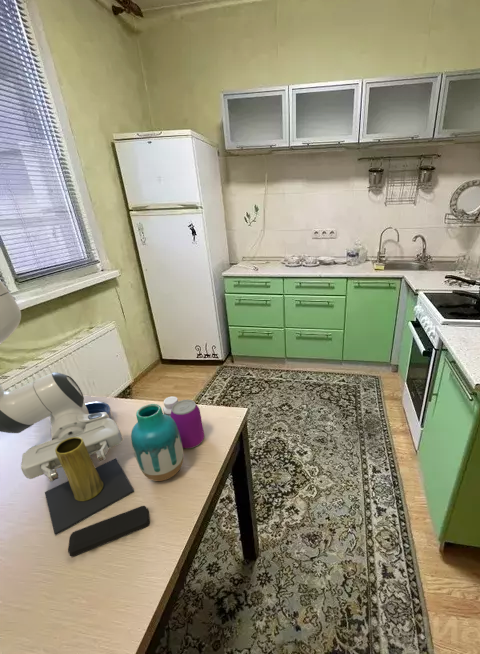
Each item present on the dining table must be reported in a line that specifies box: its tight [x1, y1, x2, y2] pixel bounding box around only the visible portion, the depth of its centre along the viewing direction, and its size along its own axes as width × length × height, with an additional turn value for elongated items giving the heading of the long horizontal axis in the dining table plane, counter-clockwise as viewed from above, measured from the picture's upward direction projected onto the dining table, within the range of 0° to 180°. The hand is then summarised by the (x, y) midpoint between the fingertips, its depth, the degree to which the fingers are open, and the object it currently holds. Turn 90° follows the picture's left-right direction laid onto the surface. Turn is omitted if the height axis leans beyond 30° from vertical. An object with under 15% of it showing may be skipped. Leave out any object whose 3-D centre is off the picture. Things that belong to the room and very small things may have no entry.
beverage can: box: [170, 399, 205, 449], centre depth 89 cm, size 8×8×12 cm
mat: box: [44, 457, 135, 536], centre depth 77 cm, size 16×14×1 cm
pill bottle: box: [162, 396, 179, 417], centre depth 96 cm, size 5×5×9 cm
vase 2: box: [130, 403, 184, 482], centre depth 77 cm, size 11×11×19 cm
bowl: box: [85, 401, 115, 421], centre depth 97 cm, size 13×13×4 cm
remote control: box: [67, 505, 151, 558], centre depth 67 cm, size 5×2×15 cm
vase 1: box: [55, 437, 103, 501], centre depth 73 cm, size 6×6×14 cm
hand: (78, 467), depth 72 cm, fingers open, 8 cm apart
